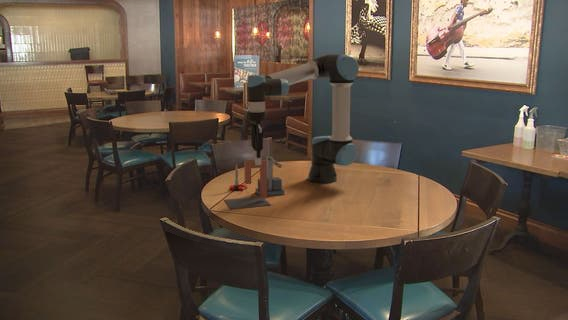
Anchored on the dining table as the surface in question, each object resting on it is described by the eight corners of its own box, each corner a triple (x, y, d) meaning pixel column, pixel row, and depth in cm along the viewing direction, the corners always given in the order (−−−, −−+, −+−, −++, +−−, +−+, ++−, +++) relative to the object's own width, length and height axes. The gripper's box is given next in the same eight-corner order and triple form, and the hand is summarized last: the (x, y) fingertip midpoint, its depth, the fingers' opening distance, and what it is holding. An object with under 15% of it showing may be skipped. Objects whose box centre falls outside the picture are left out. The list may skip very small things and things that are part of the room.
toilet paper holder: (279, 190, 239) (279, 154, 235) (292, 201, 221) (292, 163, 217) (255, 192, 236) (254, 156, 232) (267, 204, 217) (266, 165, 213)
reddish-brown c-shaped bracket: (265, 195, 223) (265, 159, 219) (266, 197, 220) (266, 160, 217) (244, 197, 220) (244, 160, 216) (246, 199, 217) (245, 162, 214)
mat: (262, 196, 228) (262, 196, 228) (270, 205, 215) (270, 204, 215) (224, 200, 223) (224, 199, 223) (230, 209, 210) (230, 208, 210)
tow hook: (232, 186, 248) (227, 190, 239) (232, 161, 246) (227, 164, 237) (248, 187, 247) (244, 191, 238) (248, 161, 245) (244, 165, 236)
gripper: (243, 109, 218) (244, 161, 223) (252, 113, 204) (253, 168, 209) (260, 108, 220) (260, 159, 225) (269, 112, 206) (270, 167, 211)
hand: (257, 163), depth 217 cm, fingers closed on reddish-brown c-shaped bracket, 2 cm apart
